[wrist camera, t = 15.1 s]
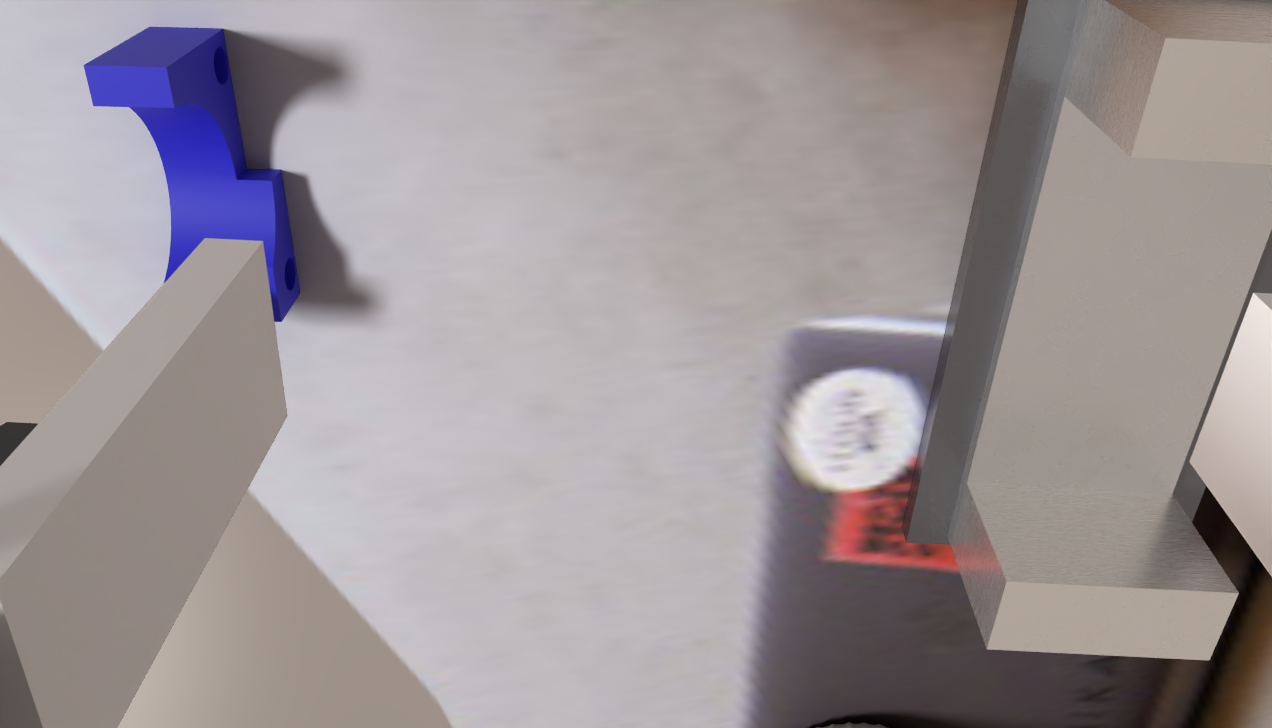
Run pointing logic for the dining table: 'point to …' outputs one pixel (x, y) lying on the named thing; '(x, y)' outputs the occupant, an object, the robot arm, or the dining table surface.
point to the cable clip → (200, 146)
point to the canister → (854, 726)
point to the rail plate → (1100, 324)
